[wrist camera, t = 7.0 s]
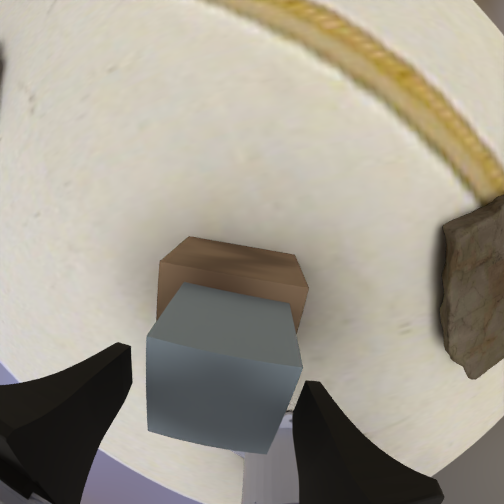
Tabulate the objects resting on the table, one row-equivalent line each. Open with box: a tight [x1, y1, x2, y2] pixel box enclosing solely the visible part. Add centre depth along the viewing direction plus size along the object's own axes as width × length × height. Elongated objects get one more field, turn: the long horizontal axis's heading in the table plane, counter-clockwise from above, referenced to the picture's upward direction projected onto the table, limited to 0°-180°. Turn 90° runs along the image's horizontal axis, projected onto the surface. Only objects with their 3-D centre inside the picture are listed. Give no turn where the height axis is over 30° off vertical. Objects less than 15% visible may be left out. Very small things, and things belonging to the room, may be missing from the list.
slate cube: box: [146, 282, 303, 455], centre depth 11 cm, size 5×5×5 cm
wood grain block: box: [156, 236, 309, 334], centre depth 17 cm, size 7×7×6 cm
